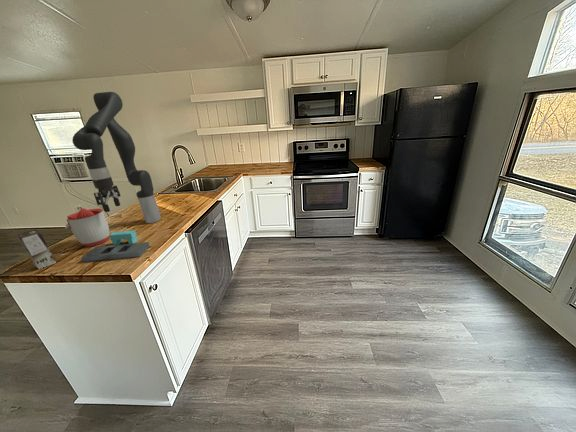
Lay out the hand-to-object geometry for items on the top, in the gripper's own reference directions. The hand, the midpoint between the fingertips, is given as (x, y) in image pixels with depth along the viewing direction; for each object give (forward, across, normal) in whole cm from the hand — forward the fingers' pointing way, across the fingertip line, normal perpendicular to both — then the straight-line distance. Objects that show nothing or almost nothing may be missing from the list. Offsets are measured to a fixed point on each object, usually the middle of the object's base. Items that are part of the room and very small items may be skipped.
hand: (113, 208), depth 117 cm
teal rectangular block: (+20, 0, 0) cm, 20 cm away
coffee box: (+20, +15, -29) cm, 38 cm away
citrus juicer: (+20, -4, -19) cm, 28 cm away
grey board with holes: (+20, +12, +3) cm, 23 cm away
